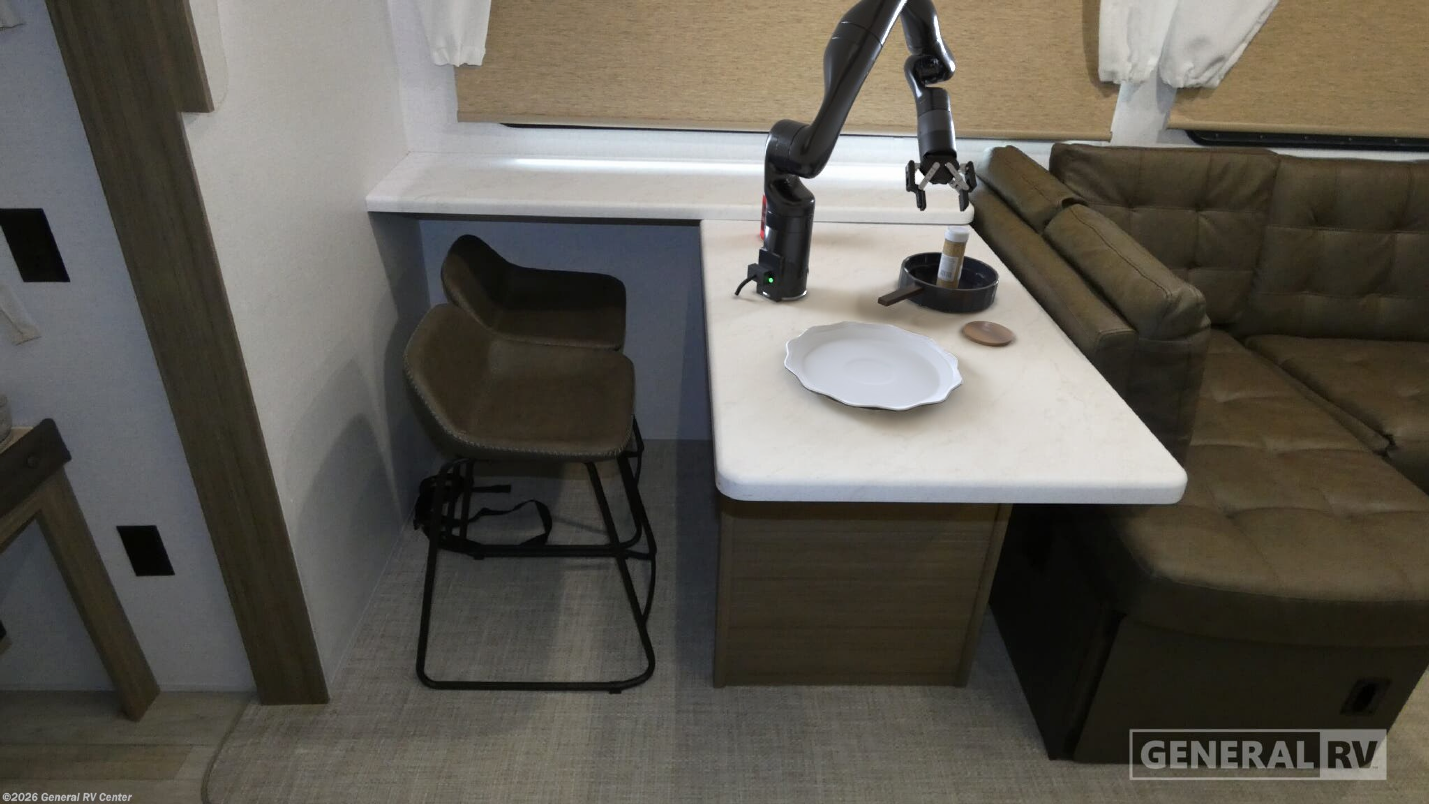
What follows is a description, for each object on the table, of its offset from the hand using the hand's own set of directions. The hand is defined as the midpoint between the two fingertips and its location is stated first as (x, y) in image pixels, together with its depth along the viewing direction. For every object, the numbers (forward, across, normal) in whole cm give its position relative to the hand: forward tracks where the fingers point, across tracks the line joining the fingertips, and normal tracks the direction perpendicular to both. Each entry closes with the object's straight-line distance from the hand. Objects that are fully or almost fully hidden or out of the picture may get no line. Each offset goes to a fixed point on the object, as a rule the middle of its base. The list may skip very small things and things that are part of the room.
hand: (943, 209), depth 170 cm
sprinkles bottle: (+17, 0, +4) cm, 17 cm away
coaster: (+30, +2, -9) cm, 31 cm away
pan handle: (+21, -13, -5) cm, 25 cm away
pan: (+17, 0, +4) cm, 17 cm away
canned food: (-4, -30, +25) cm, 39 cm away
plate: (+39, -24, -19) cm, 50 cm away
